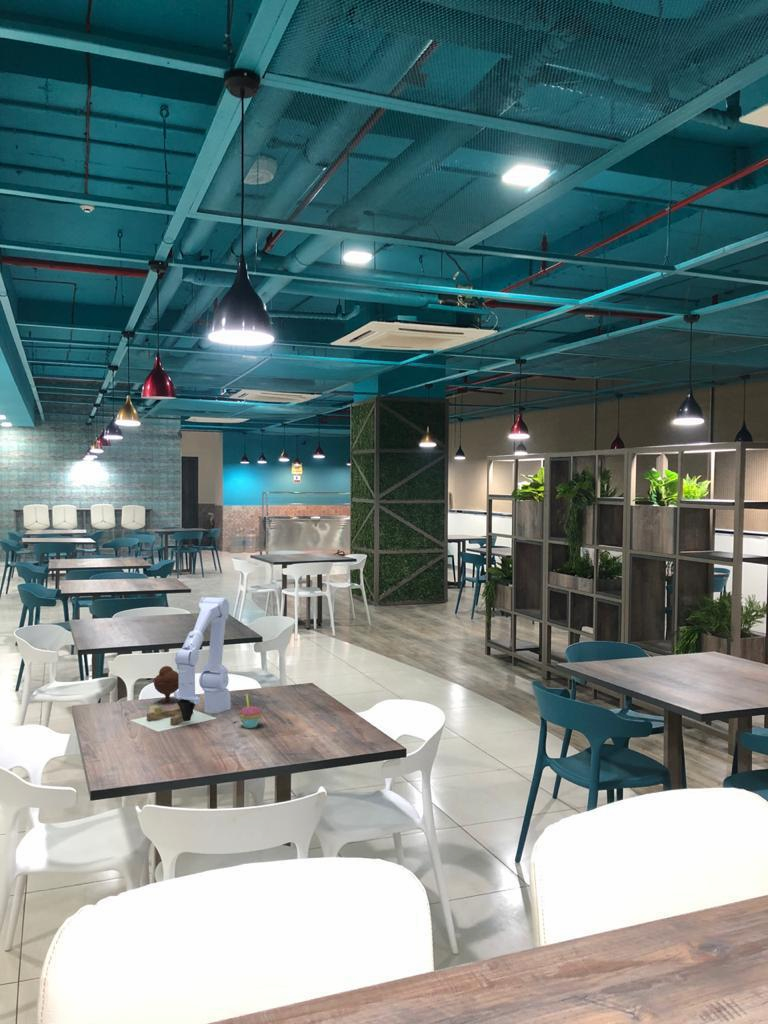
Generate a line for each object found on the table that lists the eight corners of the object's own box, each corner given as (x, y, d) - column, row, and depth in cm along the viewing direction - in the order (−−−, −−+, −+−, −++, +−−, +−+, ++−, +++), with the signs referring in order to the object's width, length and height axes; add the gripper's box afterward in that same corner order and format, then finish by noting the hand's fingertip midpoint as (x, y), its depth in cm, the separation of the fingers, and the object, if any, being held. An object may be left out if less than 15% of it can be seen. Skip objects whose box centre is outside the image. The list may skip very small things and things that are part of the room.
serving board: (188, 710, 312) (188, 708, 312) (217, 721, 297) (217, 718, 297) (130, 722, 295) (130, 720, 295) (157, 734, 281) (157, 731, 281)
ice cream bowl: (147, 707, 317) (147, 668, 317) (163, 700, 328) (163, 663, 328) (171, 709, 314) (171, 670, 314) (186, 702, 325) (186, 664, 324)
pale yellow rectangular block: (156, 710, 298) (156, 705, 298) (162, 712, 295) (162, 707, 295) (149, 711, 296) (149, 706, 296) (154, 714, 293) (154, 708, 293)
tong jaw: (187, 714, 302) (187, 708, 302) (192, 714, 301) (192, 708, 301) (170, 724, 288) (170, 718, 288) (175, 725, 288) (175, 718, 288)
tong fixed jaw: (189, 711, 307) (189, 703, 306) (194, 713, 304) (194, 705, 304) (146, 720, 294) (146, 712, 294) (151, 722, 291) (151, 714, 291)
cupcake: (233, 727, 289) (233, 694, 289) (248, 721, 297) (248, 689, 296) (253, 730, 285) (253, 696, 285) (267, 724, 293) (267, 691, 292)
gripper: (166, 681, 292) (166, 718, 292) (187, 687, 281) (187, 726, 282) (183, 678, 297) (183, 715, 297) (205, 684, 286) (205, 722, 287)
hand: (186, 720), depth 290 cm, fingers closed
